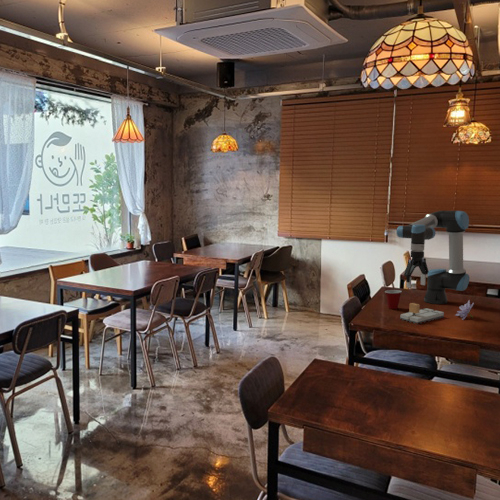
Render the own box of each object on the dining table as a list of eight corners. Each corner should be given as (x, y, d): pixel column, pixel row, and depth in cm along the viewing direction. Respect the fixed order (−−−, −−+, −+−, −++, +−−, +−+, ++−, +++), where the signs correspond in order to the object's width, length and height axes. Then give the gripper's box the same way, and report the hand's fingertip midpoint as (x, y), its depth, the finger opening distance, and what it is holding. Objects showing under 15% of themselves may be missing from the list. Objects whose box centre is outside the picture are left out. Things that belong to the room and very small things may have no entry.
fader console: (400, 319, 276) (400, 314, 275) (426, 313, 290) (426, 307, 290) (417, 324, 266) (417, 318, 266) (443, 317, 280) (443, 311, 280)
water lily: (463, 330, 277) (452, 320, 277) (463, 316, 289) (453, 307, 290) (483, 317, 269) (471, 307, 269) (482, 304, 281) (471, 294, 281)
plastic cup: (389, 305, 310) (389, 288, 308) (404, 308, 302) (404, 290, 301) (380, 308, 302) (381, 290, 301) (396, 311, 295) (396, 293, 293)
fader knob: (408, 317, 275) (409, 303, 274) (412, 316, 276) (412, 302, 275) (416, 319, 271) (416, 305, 270) (419, 318, 272) (419, 304, 271)
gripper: (409, 253, 258) (408, 289, 261) (435, 249, 272) (434, 284, 275) (398, 251, 265) (397, 287, 267) (424, 248, 279) (423, 282, 281)
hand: (415, 286), depth 271 cm, fingers open, 13 cm apart
